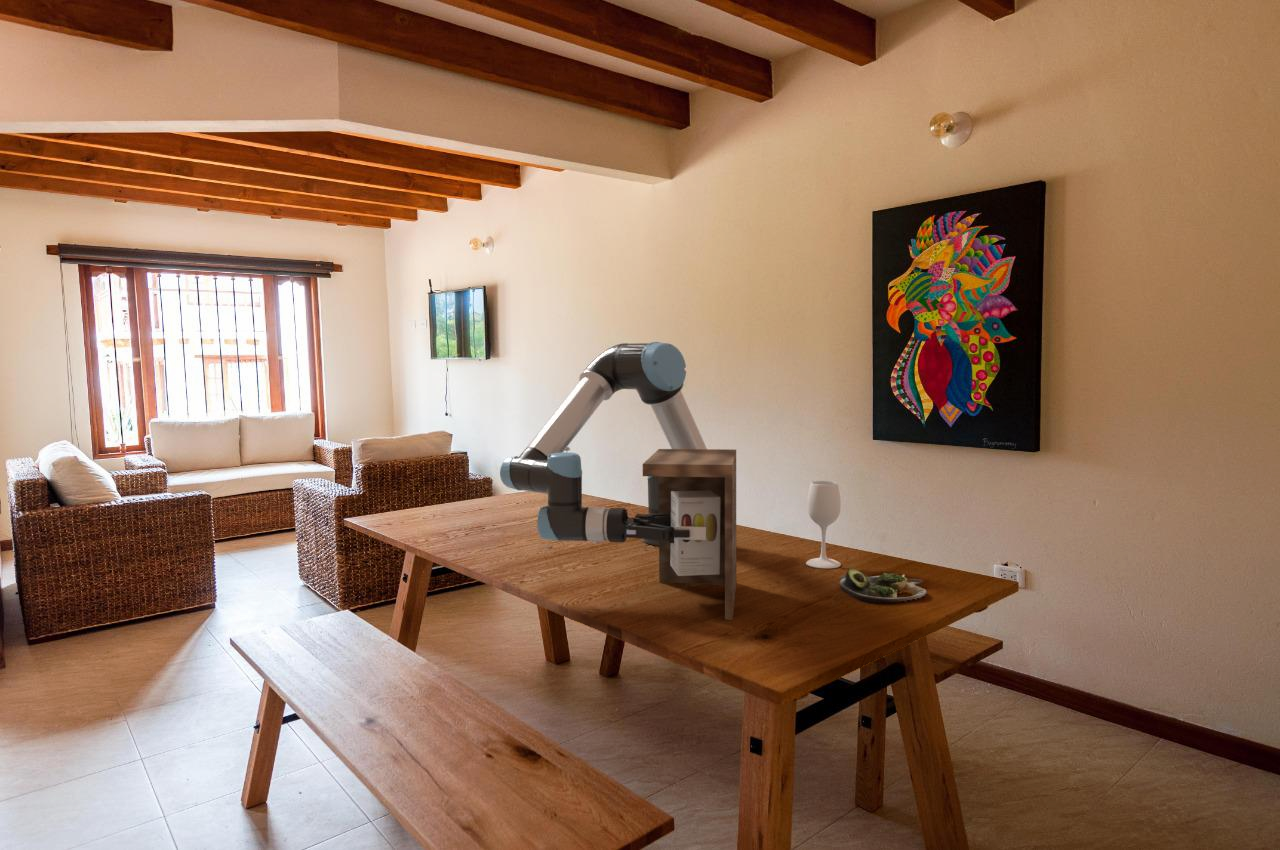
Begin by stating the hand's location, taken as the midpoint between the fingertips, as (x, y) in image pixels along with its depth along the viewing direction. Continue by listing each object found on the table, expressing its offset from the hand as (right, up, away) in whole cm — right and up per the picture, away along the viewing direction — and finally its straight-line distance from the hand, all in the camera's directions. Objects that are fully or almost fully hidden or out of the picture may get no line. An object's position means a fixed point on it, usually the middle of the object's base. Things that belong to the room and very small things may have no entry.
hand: (708, 527), depth 168 cm
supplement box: (-3, -10, +1) cm, 10 cm away
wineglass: (+32, -14, +30) cm, 46 cm away
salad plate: (+39, -16, +7) cm, 43 cm away
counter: (-3, -16, +3) cm, 17 cm away
